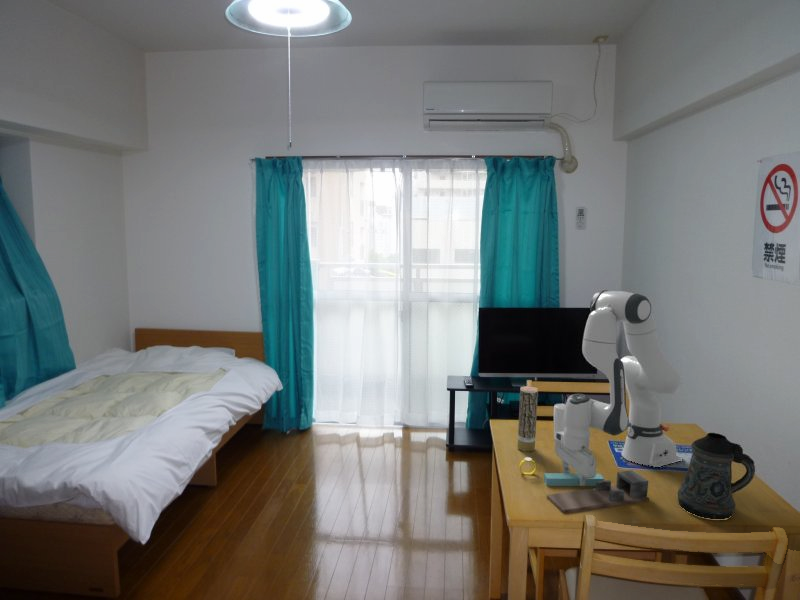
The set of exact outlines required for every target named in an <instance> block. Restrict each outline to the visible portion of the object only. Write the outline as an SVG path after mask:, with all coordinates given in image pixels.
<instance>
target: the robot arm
mask: <svg viewBox="0 0 800 600" xmlns="http://www.w3.org/2000/svg"><path fill="white" fill-rule="evenodd" d="M589 310H590V313H589V315H588V318H587V320H586V323H585V327H584V331H583V337H582V344H581V345H582V346H581V347H582V348H581V351H582V355H583V358H585V360H586V362H588V363H589V364H590V365H591V366H592V367H593V368H594V367H595V369H598V371H600V372H602V373H603V374H604V375H605V376H606V377H607V379H608V381H609V396H610V401H609V402H610V403H605V402H602V401H599V400H596V399H592V398H591V397H590V396H589V395H587V394H584V393H573V394H571V395H569V396H568V398H567V399H566V403H565V404H566V408H565V416H564V421H565V428H564V431H561V432H556V434H555V437H556V438H557V439H556V441H555V440H554V442H555V444H554V449H555V450H554V452H555V455H556V457H558V458H559V459H561V464H562V467H563V470H562V473H570V471H571V470H570V469H573V470H575V471H576V472H577V473H580V476H581V478H580V479H578V484H579V485H580V486H579V487H585V486H584V485H585V481H586V479H587V478H594V477H595V476H596V474H597V463H596V457H595V455H593V451H592V450H590V440H591V431H590V428H591V429H595V430H597V431H601V432H603V433H606V434H608V435H611V436H618V435H620V434H622V433H624V432H625V431H626V438H625V442H624V446H623V448H622V451H621V457H623V458H624V459H625V460H627V461H629V462H631V461H632V463H634V462H635V464H637V463H638V465H642V464H643V466H648V465H649V466H648V467H651V466H653V468H655V467H660V468H662V467H661V466H663V465H667V464H670V463H672V462H675V461H678V460H681V459H680V458H681V457H682V456H681V457H678V456H676V455H680V454H679V453H678V452H677V445H676V443H675V442H674V441H673V440H672V439H671V438H670V437H669V436H667V435H666V434H665V433H664V432H668V431H669V430H670V427H669V426H668V425H666V424H663V425H662V424H661V417H662V415H661V414H662V405H661V403H660V401H659V400H658V399H657V397H656V396H655V394H654V393H657V394H662V395H674V394H676V393H677V392H678V390H680V388H681V386H682V382H683V379H682V374H681V373H680V371H679V370H678V369H677V368H675V367H674V366H673V365H672V363H671V362H670V360H669V359H668V357H667V356H666V354H665V352H664V350H663V349H662V346H661V342H660V341H659V340H660V339H659V334H658V329H657V323H656V319H655V316H654V312H653V310H652V304H651V302H650V300H649V298H648V297H647V296H645V295H643V294H642V293H634V292H633V293H632V292H630V291H629V292H628V291H624V290H619V291H618V290H607V289H606V290H605V289H604V290H599V291H597V292H595V293H594V294H593V296H592V297H591V299H590V304H589ZM620 323H623V330H624V331H623V332H624V336H625V342H626V346H627V349H628V351H629V353H630V354H631V355H625V356H624V357H621V359H620V358H619V356H618V353H617V352H618V351H617V338H618V325H619V324H620ZM626 391H627V395H628V400H629V408H628V409H629V410H628V409H627V401H626V400H627V397H626V396H627V395H626ZM628 411H629V412H628ZM663 431H664V432H663ZM569 466H570V467H571V468H570V467H569ZM667 466H668V465H667ZM663 467H664V466H663Z"/></svg>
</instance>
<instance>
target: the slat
mask: <svg viewBox="0 0 800 600" xmlns="http://www.w3.org/2000/svg"><path fill="white" fill-rule="evenodd" d="M580 478H581V476H580V473H578V472H577V473H576V472H575V473H574V472H573V473H570V472H569V473H565V472H562V473H561V472H559V473H558V472H553V473H549V472H544V473H543V482H544V483H545V486H549V487H551V486H553V487H557V486H558V487H559V486H561V487H565V486H566V487H567V486H569V487H570V486H571V487H574V486H575V487H581V486H580V485H579V484H578V479H580ZM597 481H605V478H604V476H603V475H602V474H601V473H596V476H595V477H594V478H587V479H586V481H585V485H584V486H583V487H585V486H586V487H592V486H594V487H596V482H597Z"/></svg>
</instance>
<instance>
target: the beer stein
mask: <svg viewBox="0 0 800 600" xmlns="http://www.w3.org/2000/svg"><path fill="white" fill-rule="evenodd" d="M691 452H692V453H691V457H690V461H689V464H688V468H687V471H686V474H685V476H684V478H683V481H682V484H681V485H680V487H679V488H678V490H677V499H678V506H679V505H680V506H681V507H682V508H684V509H685V510H686V511H688V512H690V513H692V514H695V515H697V516H700V517H704V518H710V519H725V518H729V517H730V516H732V514H733V515H734V512H735V510H736V503H735V500H734V496H733V494H734V493H737V492H739V491H741V490H742V489H744V488H745V487H746V486H748V485H749V484H750V483H751V482H752V481H753V479H754V477H755V474H756V466H755V461H754V460H753V459H752V458H751V456H749V455H748V454H746V453H744V449H743V447H742V446H741V445H740V444H739V443H734V442H731V441H730V440H729V439H728V438H727V437H726V436H725V435H723V434H720V433H716V432H708V433H707V434H706V435H705V436H704V437H700V438H698V439H696V440H694V441H693V442H692V443H691ZM732 462H734V463H737V464H742V465H743V466H744V467H745V469H746V470H745V473H744V475H743V476H742V477H741V478H740V479H738V480H736V481H735V482H732V477H733V471H732V464H733V463H732ZM680 506H679V507H680ZM681 507H680V508H681ZM682 508H681V509H682ZM685 510H684V511H685ZM686 511H685V512H686ZM692 514H691V515H692ZM732 517H733V516H732Z"/></svg>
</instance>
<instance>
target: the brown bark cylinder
mask: <svg viewBox="0 0 800 600" xmlns="http://www.w3.org/2000/svg"><path fill="white" fill-rule="evenodd" d="M538 397H539V389H538V388H537V387H535V386H528V385H526V386H525V385H523V386H520V390H519V410H518V411H519V412H518V429H517V430H518V431H517V448H518V450H520V451H521V452H527V453H529V452H533V451H535V448H536V433H537V431H536V429H537V415H538Z"/></svg>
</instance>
